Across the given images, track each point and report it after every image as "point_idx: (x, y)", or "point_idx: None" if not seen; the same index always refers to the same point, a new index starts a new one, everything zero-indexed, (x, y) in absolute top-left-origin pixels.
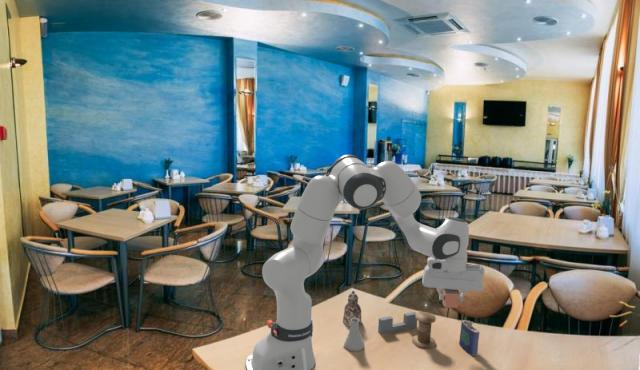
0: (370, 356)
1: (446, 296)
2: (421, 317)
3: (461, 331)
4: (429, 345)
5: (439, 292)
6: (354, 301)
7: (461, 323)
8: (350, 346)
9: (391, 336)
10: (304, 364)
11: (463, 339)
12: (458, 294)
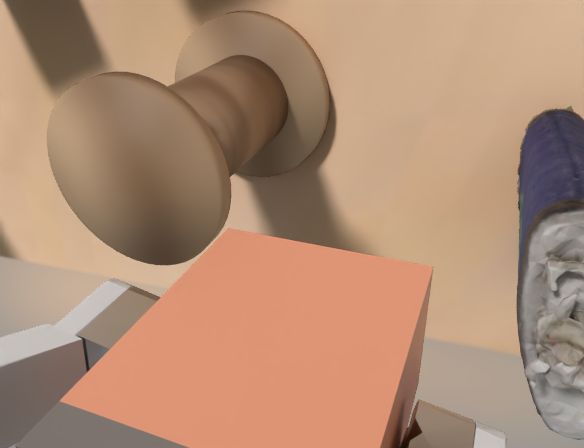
0: (9, 209)
1: None
2: (97, 195)
3: (525, 202)
4: (272, 168)
5: (9, 437)
6: None
7: (527, 223)
8: None
9: (62, 15)
10: None
11: (519, 229)
12: None
